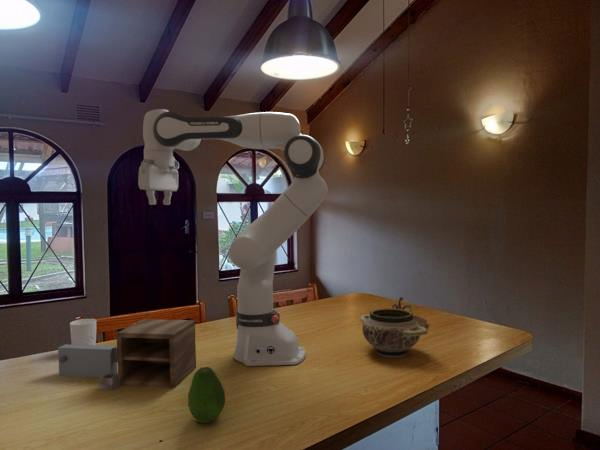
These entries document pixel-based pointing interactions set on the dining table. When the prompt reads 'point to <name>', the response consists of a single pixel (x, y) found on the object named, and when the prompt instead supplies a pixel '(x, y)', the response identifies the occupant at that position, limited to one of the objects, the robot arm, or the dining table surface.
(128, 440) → the dining table surface
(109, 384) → the cabinet
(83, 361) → the grey box
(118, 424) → the dining table surface
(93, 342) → the white cup
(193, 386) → the avocado
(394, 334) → the ceramic bowl
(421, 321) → the plant
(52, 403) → the dining table surface
